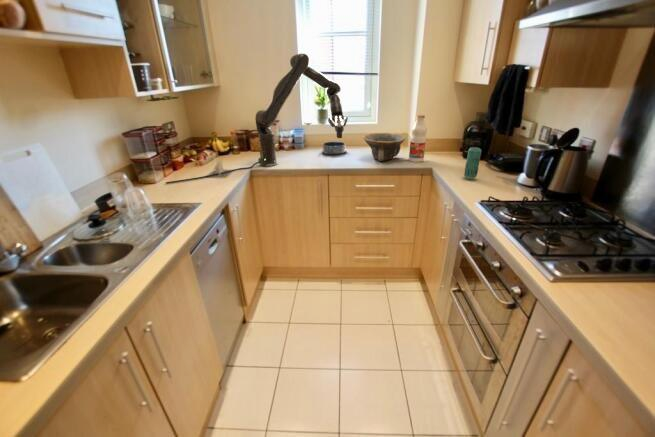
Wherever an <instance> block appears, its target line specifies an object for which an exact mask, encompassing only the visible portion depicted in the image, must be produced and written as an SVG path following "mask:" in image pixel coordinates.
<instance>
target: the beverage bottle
mask: <svg viewBox="0 0 655 437" xmlns="http://www.w3.org/2000/svg"><path fill="white" fill-rule="evenodd" d="M481 143H482V142H481V141H480V140H473V141H472V142H471V146H472V147H469V149H468V151H467V156H466V161H465V167H464V171H463V176H464V177H465V178H469V179H475V178H477V176H478V172H479V165H480V161H481V156H482V152H483V151H482V149H481V148H480V147H481Z"/></svg>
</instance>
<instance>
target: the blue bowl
mask: <svg viewBox="0 0 655 437" xmlns="http://www.w3.org/2000/svg"><path fill="white" fill-rule="evenodd" d="M346 150H347V145H346V142H343V141H327V142H323V143H322V152H323V153H324V154H327V155H341V154H344V153H346Z"/></svg>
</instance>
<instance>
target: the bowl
mask: <svg viewBox="0 0 655 437" xmlns="http://www.w3.org/2000/svg"><path fill="white" fill-rule="evenodd" d="M363 140H364V142H365V143H366V144H367V145H368V147H370V149H371V155H372V156H373V159H375V160H378V161H379V162H384V161H390V160H393V159H394V157H395V158H396V157H397V156H398V155H399V153H400V151H401V145H402V144H403V143H404V141H405V140H406V137H405V136H404V135H402V134H399V133H391V132H390V133H389V132H376V133H375V132H374V133H369V134H365V135H364V136H363Z"/></svg>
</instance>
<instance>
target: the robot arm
mask: <svg viewBox="0 0 655 437" xmlns="http://www.w3.org/2000/svg"><path fill="white" fill-rule="evenodd" d="M289 64H290V67H291V69H290V70H289V71H288V72H287V73H286V74H285V75H284V76H282V78H281V79H280V80H279V81H278V83H277V84H276V86H275V88H274V89H273V94H272V100H271V103H270V105H269V106H268V107H267V109H265V110H264V109H260V110H258V111H256V113H255V116H254V117H255V118H254V119H255V126H256V132H257V135H258V138H259V148H260V149H259V157H258V158H257V161H256V162H255V163H253V164H252V165H251V166H248V167H239V168H235V169H229V170H230V171H226V172H222V173H220V174H223V173H227V172H231V171H232V172H234V171H240V170H248V169H252V168H253V167H254V166H256V165H257V164H260V165H261V166H263V167H272V166H273V167H274V166H276V165H277V164H278V161H277V153H276V152H277V151H276V141H275V133H274V131H273V130H272V129H271V127H272V126H273V125H274V124H275V122H276V120H277V118H278V116H279V114H280V112H281V110H282V108H283V107H284V105H285V103H286V101H287V100H288V98H289V97H290V95H291V94H292V92H293V90H294V88H295V87H296V85H297V84H298V82H299V80H300V79H301V77H302V76H305V77H306V78H308V79H309V80H311V81H312V82H314V83H315V84H316V85H318V86H319V87H320V88H321V89H322V90H325V94H326V96H327V98H328V100H329V105H330V108H329V109H330V113H331V116H330V117H328V118H327V122H328V123H329V124H330V126H331V127H332V128H334V130H335V132H336V133H337V132H338V128H337V126H338V121H339V122H340V126H341V127H342V133H343V132H344V130H345V127H346V126H347V123H348V120H349V117H348V116H346V117H345V116H344V111H343V108H342V107H343V106H342V103H341V98H340V96H339V95H338V94H339V93H341V90H342V87H341V85H340V84H339V82H337V81H334V80H332V79H329V78H328V77H326V75H325V74H323V73H321V72H320V71H318V70H316V69H314V68H312V67H310V57H309V56H308V54H306V53H296V54H293V55H292V56H291V58H290V59H289ZM343 121H344V122H343ZM232 172H231V173H232ZM215 175H219V174H213V175H210V174H208V175H203V176H198V177H191V178H186V179H177V180H172V181H165V184H166V185H167V184H173V183H180V182H187V181H192V180H198V179H205V178H211V177H210V176H215Z"/></svg>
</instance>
